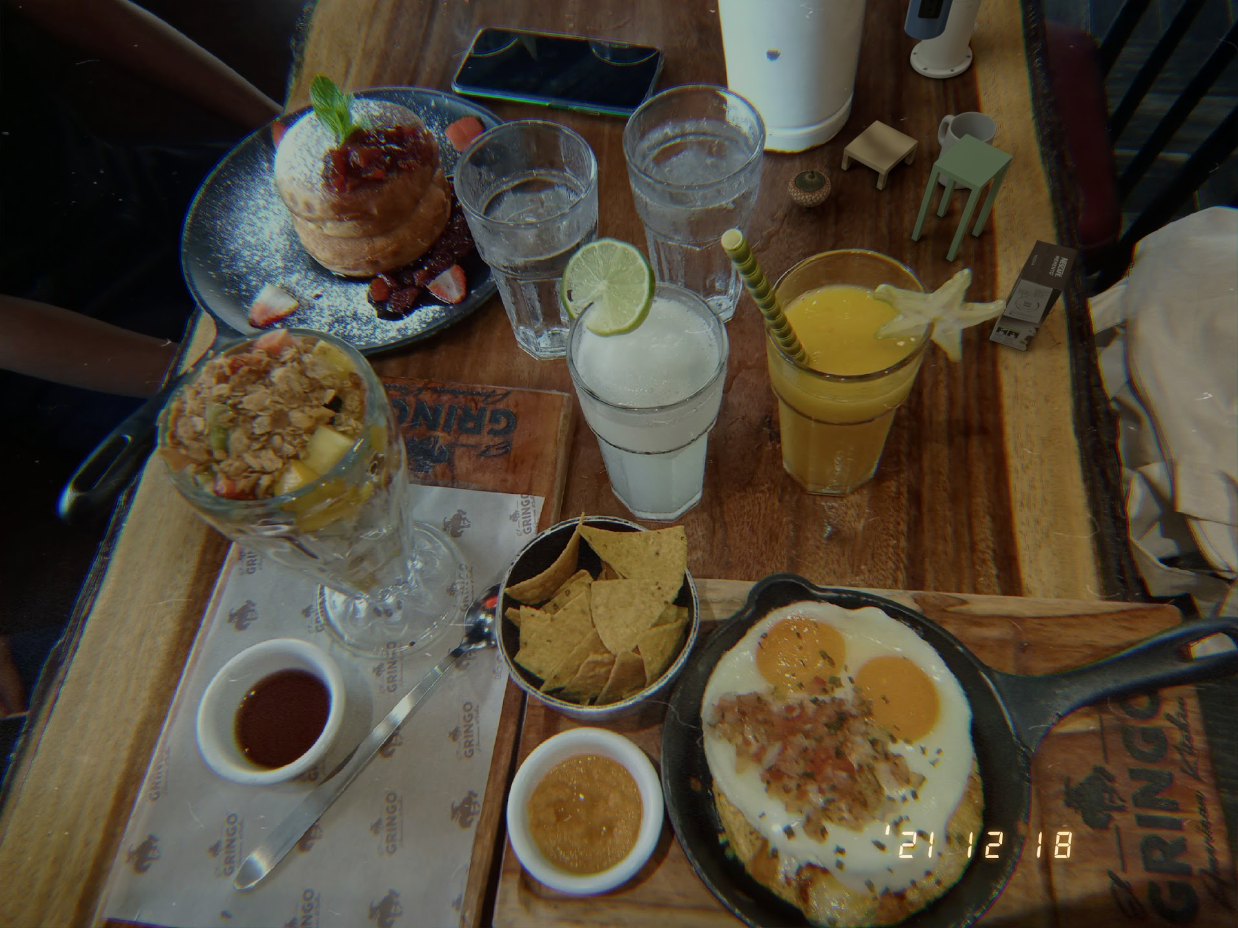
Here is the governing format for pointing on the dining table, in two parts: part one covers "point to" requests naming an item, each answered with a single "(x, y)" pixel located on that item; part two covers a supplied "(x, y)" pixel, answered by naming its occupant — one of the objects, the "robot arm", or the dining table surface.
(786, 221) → the dining table surface
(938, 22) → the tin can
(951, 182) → the tall green stool
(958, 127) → the mug
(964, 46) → the robot arm
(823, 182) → the acorn
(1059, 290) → the coffee box
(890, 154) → the low shelf
